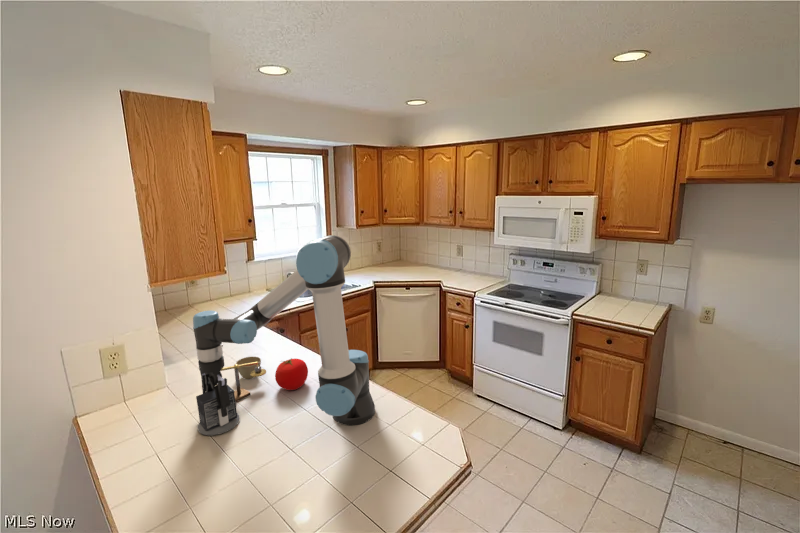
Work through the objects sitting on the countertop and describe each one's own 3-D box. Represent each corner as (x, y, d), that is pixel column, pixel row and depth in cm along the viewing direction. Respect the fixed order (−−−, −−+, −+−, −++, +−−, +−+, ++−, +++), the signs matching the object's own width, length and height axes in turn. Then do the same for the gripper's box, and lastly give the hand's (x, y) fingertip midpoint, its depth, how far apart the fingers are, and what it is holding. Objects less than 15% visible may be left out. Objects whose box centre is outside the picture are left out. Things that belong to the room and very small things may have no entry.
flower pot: (253, 383, 158) (252, 367, 156) (232, 381, 160) (230, 365, 158) (266, 372, 167) (265, 357, 166) (246, 370, 169) (244, 355, 168)
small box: (230, 410, 136) (227, 383, 134) (238, 417, 131) (235, 390, 129) (199, 423, 129) (195, 395, 126) (205, 431, 124) (202, 403, 122)
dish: (247, 422, 131) (246, 419, 131) (209, 442, 121) (208, 438, 121) (228, 409, 139) (227, 406, 139) (191, 427, 129) (190, 423, 129)
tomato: (315, 385, 155) (314, 359, 153) (285, 399, 146) (283, 371, 143) (299, 375, 164) (297, 351, 161) (269, 388, 154) (267, 362, 152)
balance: (270, 385, 156) (267, 352, 153) (213, 412, 138) (208, 375, 134) (262, 381, 159) (258, 349, 156) (205, 407, 141) (200, 370, 138)
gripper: (237, 361, 122) (244, 425, 127) (208, 346, 134) (215, 405, 139) (214, 370, 116) (222, 436, 121) (185, 353, 128) (194, 415, 133)
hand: (218, 419), depth 130 cm, fingers closed on small box, 7 cm apart
